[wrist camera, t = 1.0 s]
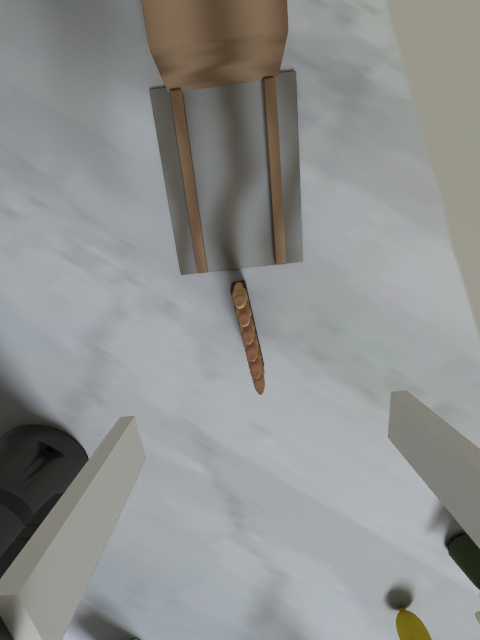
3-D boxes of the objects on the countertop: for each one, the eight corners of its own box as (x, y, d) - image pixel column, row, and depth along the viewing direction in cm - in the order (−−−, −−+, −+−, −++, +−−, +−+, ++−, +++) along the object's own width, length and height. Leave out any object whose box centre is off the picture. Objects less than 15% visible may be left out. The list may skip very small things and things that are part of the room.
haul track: (181, 274, 31) (168, 278, 25) (144, 52, 25) (115, -9, 19) (302, 261, 31) (316, 262, 25) (293, 32, 25) (310, -37, 19)
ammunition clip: (231, 282, 32) (226, 298, 20) (244, 279, 31) (248, 292, 20) (248, 354, 34) (253, 404, 23) (261, 351, 34) (272, 400, 23)
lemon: (388, 600, 49) (416, 665, 41) (415, 598, 48) (448, 662, 41) (387, 617, 50) (414, 682, 42) (413, 615, 50) (445, 680, 42)
